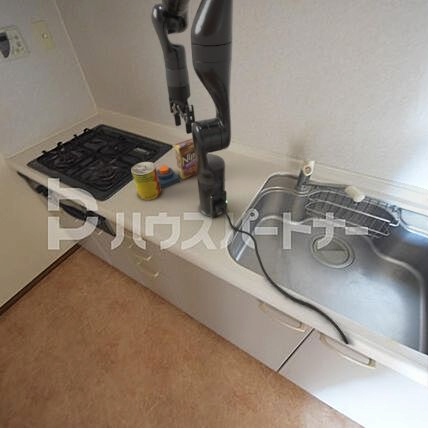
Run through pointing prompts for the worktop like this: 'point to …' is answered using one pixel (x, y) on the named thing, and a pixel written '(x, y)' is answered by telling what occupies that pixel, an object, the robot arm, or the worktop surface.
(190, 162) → the candy box
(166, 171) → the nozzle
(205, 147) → the robot arm
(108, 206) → the worktop surface
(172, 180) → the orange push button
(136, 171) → the yellow food can
